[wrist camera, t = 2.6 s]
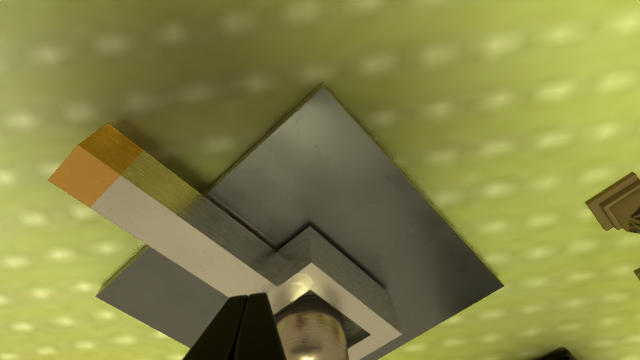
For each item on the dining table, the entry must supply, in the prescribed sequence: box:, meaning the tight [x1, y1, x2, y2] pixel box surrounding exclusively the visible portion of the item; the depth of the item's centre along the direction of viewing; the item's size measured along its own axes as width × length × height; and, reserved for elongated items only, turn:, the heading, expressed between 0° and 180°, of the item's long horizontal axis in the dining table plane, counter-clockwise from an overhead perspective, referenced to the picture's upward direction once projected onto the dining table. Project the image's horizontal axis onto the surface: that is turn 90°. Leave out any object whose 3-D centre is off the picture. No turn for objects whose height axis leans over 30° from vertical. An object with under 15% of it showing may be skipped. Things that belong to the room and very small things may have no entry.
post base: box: [95, 82, 504, 360], centre depth 19 cm, size 17×18×6 cm
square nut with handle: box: [48, 123, 402, 360], centre depth 18 cm, size 17×7×3 cm, turn 42°
